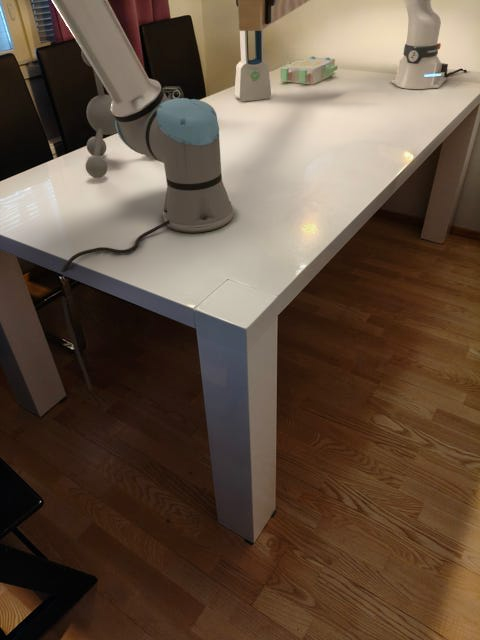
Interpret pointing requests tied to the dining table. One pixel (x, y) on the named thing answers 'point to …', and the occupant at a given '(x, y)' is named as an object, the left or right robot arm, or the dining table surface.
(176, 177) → the left robot arm
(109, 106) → the molecular model
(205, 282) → the dining table surface
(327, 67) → the white green flat box
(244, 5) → the post
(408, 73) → the right robot arm
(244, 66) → the electronic device
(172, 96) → the grenade
